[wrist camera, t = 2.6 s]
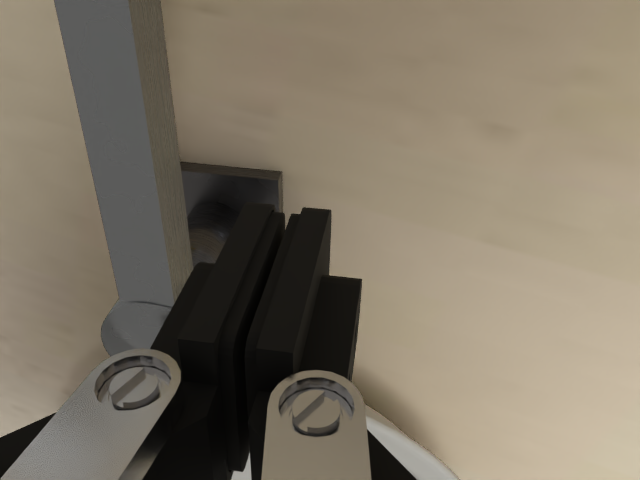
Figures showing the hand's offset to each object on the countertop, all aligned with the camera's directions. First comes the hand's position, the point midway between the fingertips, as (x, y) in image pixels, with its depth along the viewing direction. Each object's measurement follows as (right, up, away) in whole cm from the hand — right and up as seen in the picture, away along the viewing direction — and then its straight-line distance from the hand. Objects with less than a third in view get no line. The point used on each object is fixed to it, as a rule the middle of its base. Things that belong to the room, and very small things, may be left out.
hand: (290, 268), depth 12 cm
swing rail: (-5, +4, +8) cm, 10 cm away
